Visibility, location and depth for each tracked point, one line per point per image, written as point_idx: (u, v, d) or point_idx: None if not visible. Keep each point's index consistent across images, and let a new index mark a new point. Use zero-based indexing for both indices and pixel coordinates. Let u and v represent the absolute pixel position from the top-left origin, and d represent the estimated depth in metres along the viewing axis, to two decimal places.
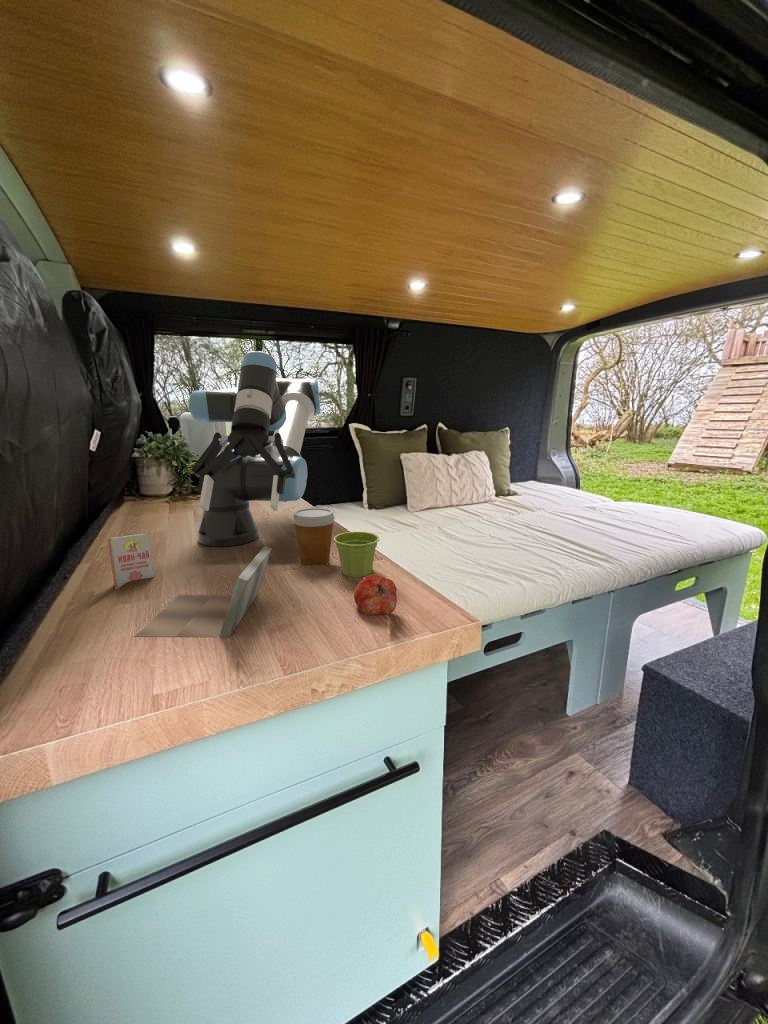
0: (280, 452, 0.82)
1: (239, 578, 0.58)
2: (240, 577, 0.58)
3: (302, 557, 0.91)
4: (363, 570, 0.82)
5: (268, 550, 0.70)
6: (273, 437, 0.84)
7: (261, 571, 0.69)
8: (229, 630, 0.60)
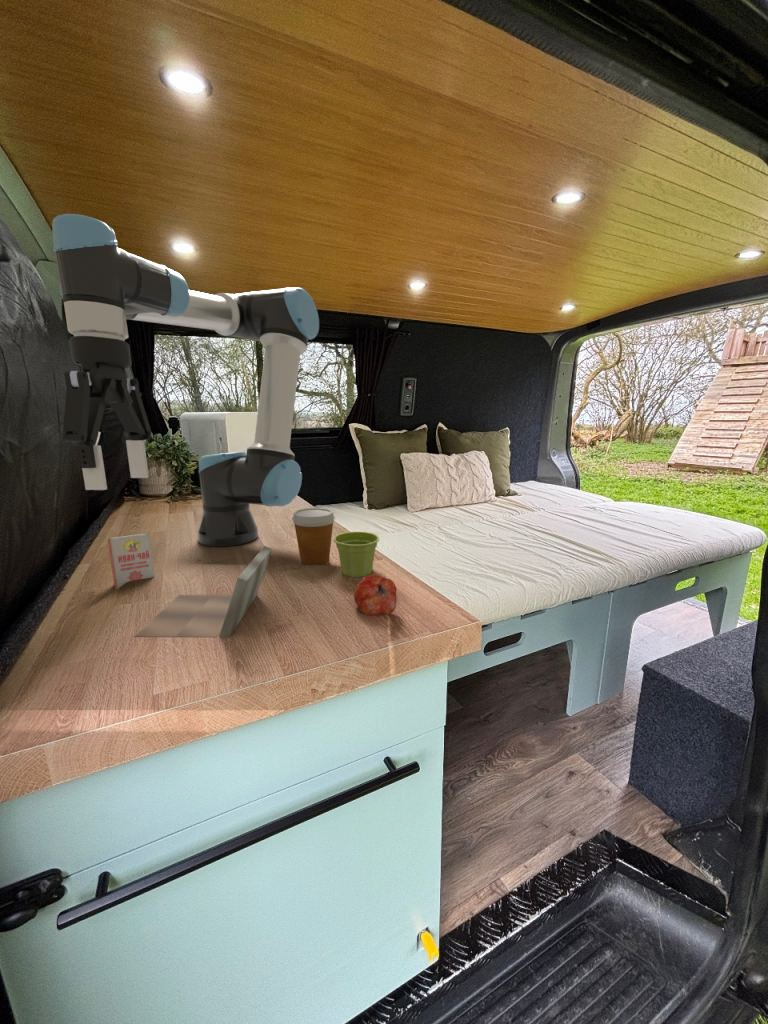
0: None
1: (239, 578, 0.58)
2: (240, 577, 0.58)
3: (302, 557, 0.91)
4: (363, 570, 0.82)
5: (268, 550, 0.70)
6: None
7: (261, 571, 0.69)
8: (229, 630, 0.60)
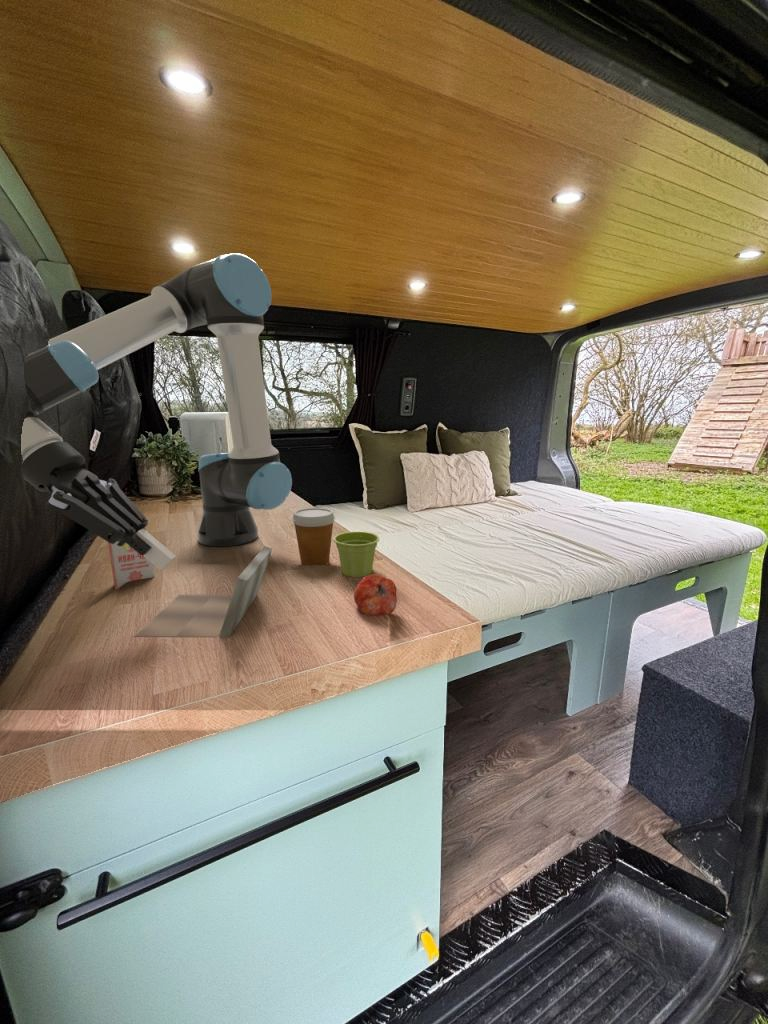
0: None
1: (239, 578, 0.58)
2: (240, 577, 0.58)
3: (302, 557, 0.91)
4: (363, 570, 0.82)
5: (268, 550, 0.70)
6: None
7: (261, 571, 0.69)
8: (229, 630, 0.60)
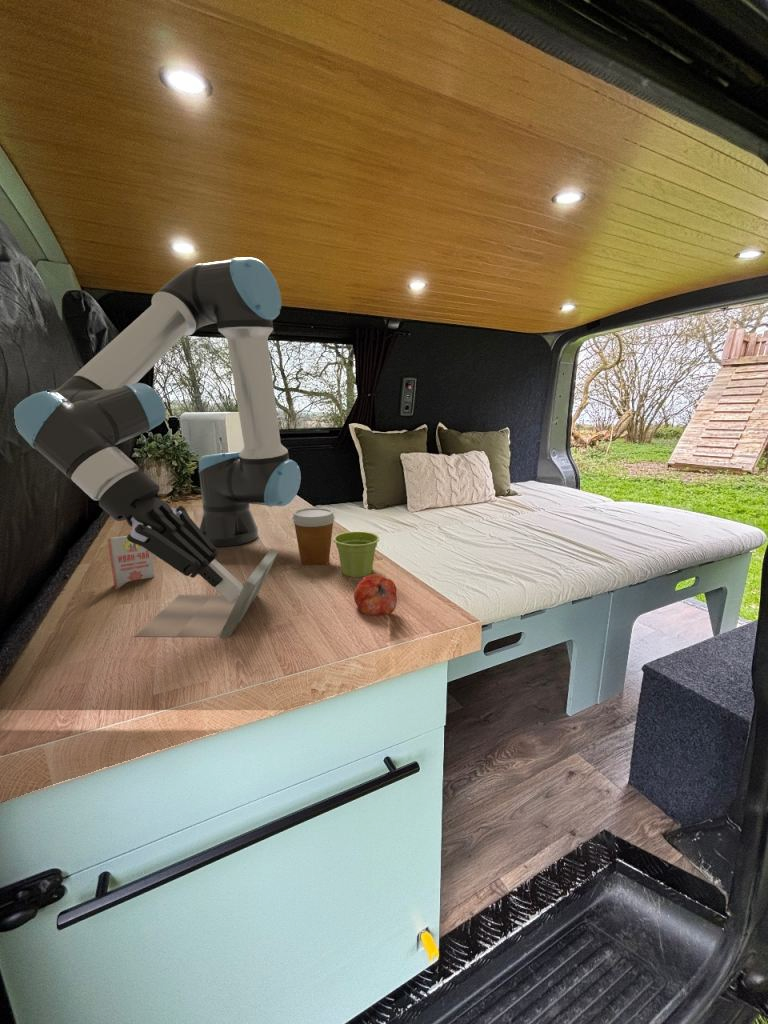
0: None
1: (247, 581, 0.58)
2: (248, 580, 0.58)
3: (302, 557, 0.91)
4: (363, 570, 0.82)
5: (274, 553, 0.70)
6: None
7: (265, 574, 0.69)
8: (230, 631, 0.60)
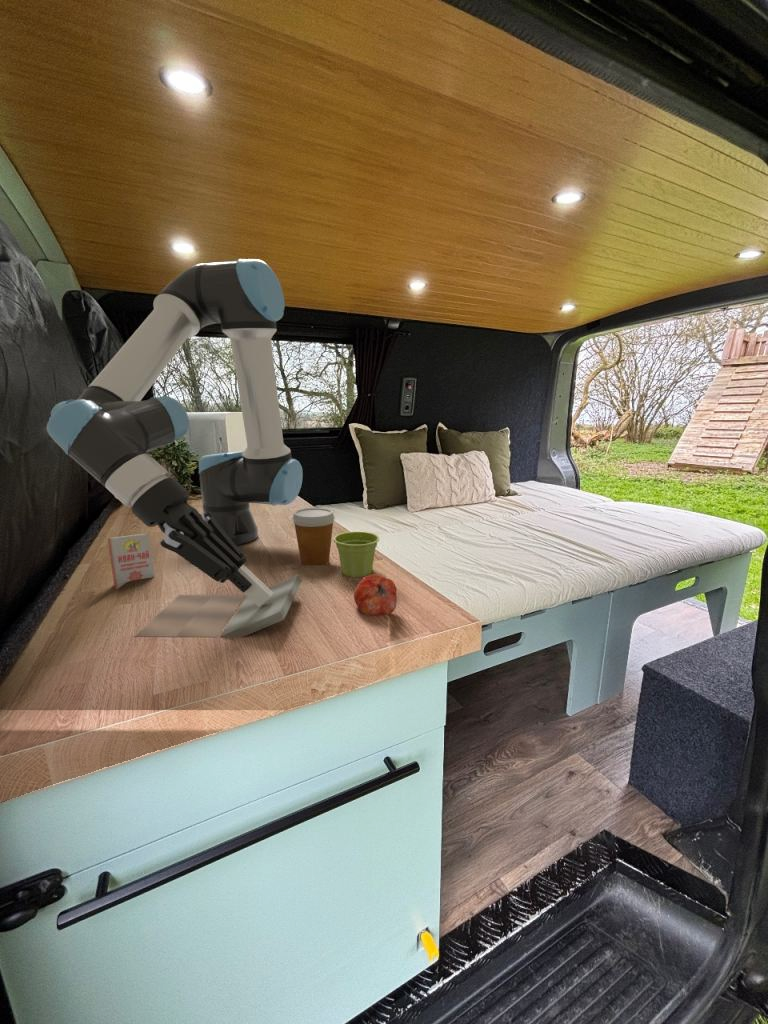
0: None
1: (280, 613, 0.59)
2: (281, 612, 0.59)
3: (302, 557, 0.91)
4: (363, 570, 0.82)
5: (299, 582, 0.72)
6: None
7: None
8: None
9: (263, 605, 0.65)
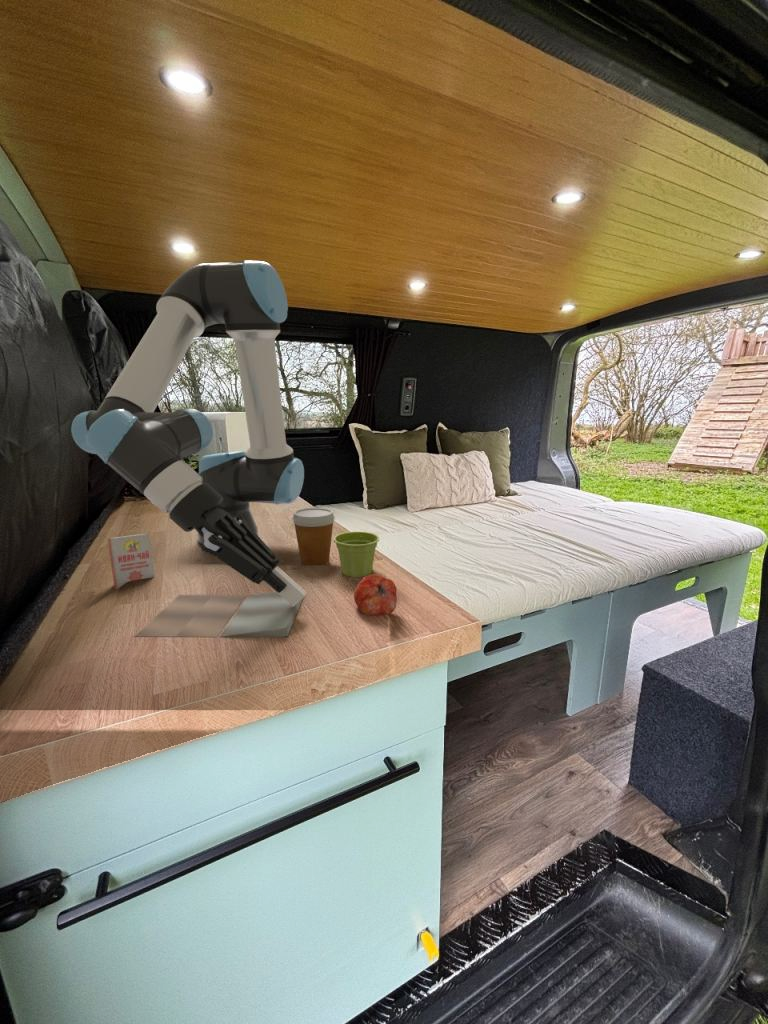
0: None
1: (285, 629, 0.60)
2: (286, 628, 0.60)
3: (302, 557, 0.91)
4: (363, 570, 0.82)
5: None
6: None
7: None
8: None
9: (266, 613, 0.65)
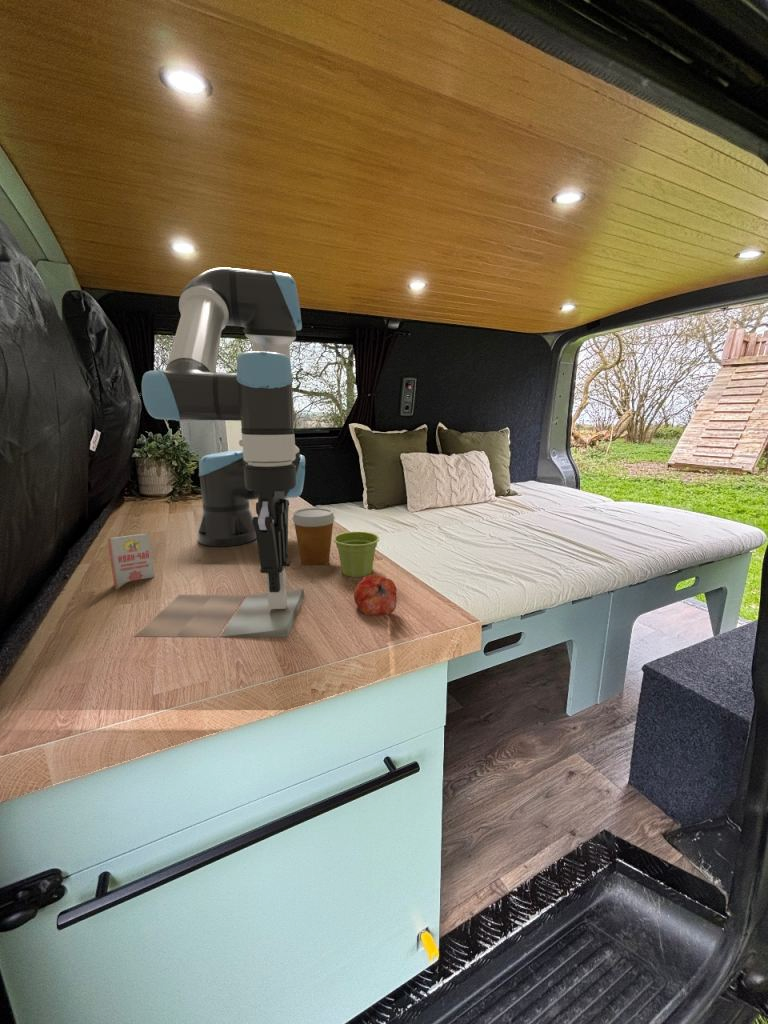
0: None
1: (286, 630, 0.60)
2: (287, 629, 0.60)
3: (302, 557, 0.91)
4: (363, 570, 0.82)
5: (302, 597, 0.72)
6: None
7: None
8: None
9: (266, 614, 0.65)
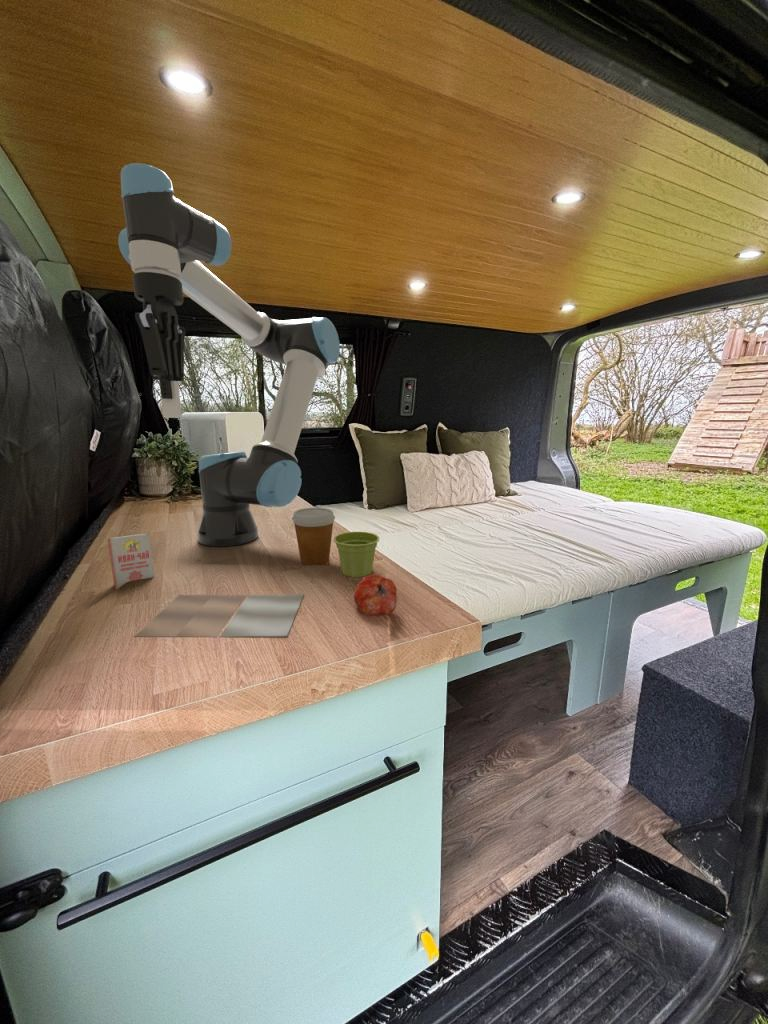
0: None
1: (286, 636, 0.60)
2: (287, 636, 0.60)
3: (302, 557, 0.91)
4: (363, 570, 0.82)
5: None
6: None
7: None
8: None
9: (267, 618, 0.65)
